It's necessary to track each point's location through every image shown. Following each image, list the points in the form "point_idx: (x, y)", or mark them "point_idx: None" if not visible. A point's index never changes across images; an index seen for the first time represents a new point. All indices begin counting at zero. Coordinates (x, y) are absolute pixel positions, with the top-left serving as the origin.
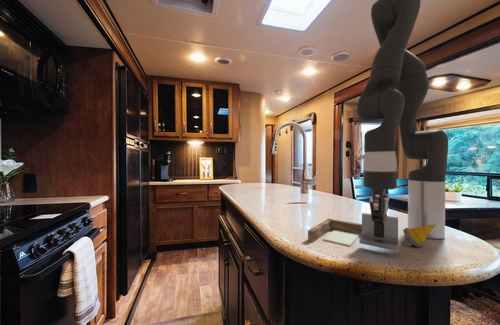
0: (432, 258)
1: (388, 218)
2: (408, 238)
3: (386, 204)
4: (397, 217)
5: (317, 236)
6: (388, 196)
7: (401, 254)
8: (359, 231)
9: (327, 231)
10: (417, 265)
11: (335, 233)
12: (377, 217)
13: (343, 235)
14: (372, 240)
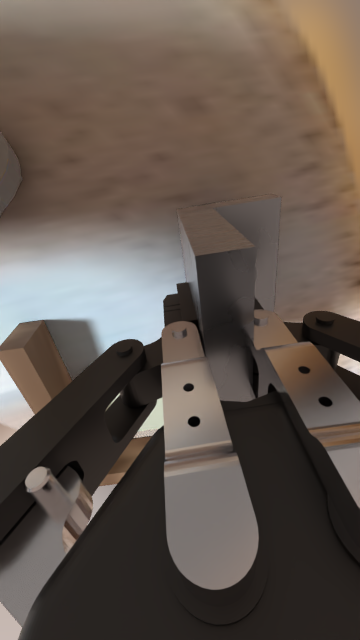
0: (107, 30)
1: (250, 309)
2: (15, 185)
3: (352, 417)
4: (199, 260)
5: None
6: (256, 551)
7: (176, 187)
8: (65, 383)
9: (143, 438)
10: (272, 94)
11: (150, 419)
12: (335, 360)
13: None
14: (264, 302)
